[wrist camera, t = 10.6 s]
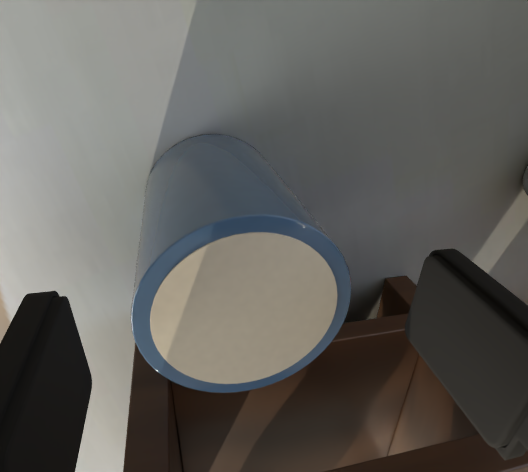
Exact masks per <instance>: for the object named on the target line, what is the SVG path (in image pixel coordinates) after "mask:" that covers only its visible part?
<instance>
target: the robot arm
mask: <svg viewBox="0 0 528 472" xmlns="http://www.w3.org/2000/svg"><path fill="white" fill-rule="evenodd" d="M405 334H406V337H407V339H408V340H409V341H410V343H411V344H412V345H413V347H414V348H415V349H416V351H417V352H418V353H419V355H420V356H421V357H422V359H423V360H424V361H425V363H426V364H427V365H428V367H429V368H430V369H431V370H432V372H433V373H434V374H435V376H436V377H437V378H438V380H439V381H440V382H441V384H442V385H443V386H444V388H445V389H446V390H447V392H448V393H449V394H450V396H451V397H452V398H453V399H454V401H455V402H456V403H457V405H458V406H459V407H460V409H461V410H462V411H463V413H464V414H465V415H466V417H467V418H468V419H469V421H470V422H471V423H472V425H473V426H474V427H475V429H476V430H477V431H478V432H479V434H480V435H481V436H482V438H483V439H484V440H485V442H486V443H487V444H488V445H490V446H491V447H493V448H495V449H496V450H497V452H498V453H499V454H500V455H501V457H502V458H503V459H504V461H505V460H509V459H513V458H516V457H520V456H523V455H524V454H525V452H526V451H528V305H526V304H525V303H524V302H522V301H521V300H520V299H519V298H517V297H516V296H515V295H514V294H512V293H511V292H510V291H508V290H507V289H506V288H505V287H503V286H502V285H501V284H500V283H498V282H497V281H496V280H495V279H493V278H492V277H491V276H489V275H488V274H487V273H486V272H484V271H483V270H482V269H481V268H479V267H478V266H477V265H476V264H474V263H473V262H472V261H470V260H469V259H468V258H467V257H465V256H464V255H463V254H462V253H460V252H459V251H458V250H456V249H443V250H435V251H432V252H431V253H430V255H429V256H428V257H427V258H426V259H425V261H424V264H423V268H422V271H421V274H420V278H419V281H418V284H417V287H416V291H415V294H414V297H413V301H412V304H411V307H410V310H409V314H408V317H407V320H406V324H405ZM91 388H92V378H91V373H90V370H89V366H88V363H87V360H86V356H85V353H84V350H83V346H82V343H81V340H80V337H79V333H78V330H77V327H76V323H75V320H74V317H73V313H72V310H71V307H70V304H69V300H68V298H67V297H66V296H62V297H59V294H58V293H57V292H56V291H50V292H40V293H31V294H27V295H26V296H25V297H24V298H23V300H22V302H21V304H20V306H19V308H18V310H17V312H16V314H15V316H14V318H13V320H12V322H11V324H10V326H9V328H8V330H7V332H6V334H5V336H4V338H3V340H2V341H1V343H0V472H75V468H76V463H77V458H78V453H79V448H80V443H81V439H82V434H83V429H84V424H85V419H86V414H87V409H88V404H89V399H90V394H91Z"/></svg>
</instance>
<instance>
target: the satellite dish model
mask: <svg viewBox="0 0 528 472" xmlns="http://www.w3.org/2000/svg"><path fill="white" fill-rule="evenodd" d="M523 187H524V190H525V192H526V194H527V195H528V166H527V168H526V170H525V172H524V176H523Z"/></svg>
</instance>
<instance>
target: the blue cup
mask: <svg viewBox="0 0 528 472" xmlns="http://www.w3.org/2000/svg"><path fill="white" fill-rule="evenodd" d="M350 299H351V278H350V273H349V269H348V266H347V264H346V261H345V259H344V257H343V255H342V254H341V252H340V250H339V249H338V247H337V246H336V245H335V244H334V243H333V241H332V240H331V239H330V238H329V236H328V235H327V234H326V233H325V232H324V230H323V229H322V228H321V227H320V225H319V224H318V223H317V222H316V221H315V219H314V218H313V217H312V216H311V214H310V213H309V212H308V211H307V210H306V208H305V207H304V206H303V205H302V203H301V202H300V201H299V200H298V199H297V197H296V196H295V195H294V194H293V192H292V191H291V190H290V189H289V188H288V186H287V185H286V184H285V183H284V181H283V180H282V179H281V178H280V177H279V175H278V174H277V173H276V172H275V170H274V169H273V168H272V167H271V166H270V164H269V163H268V162H267V161H266V159H265V158H264V157H263V156H262V155H261V154H260V153H259V152H258V151H257V150H256V149H255V148H254V147H252V146H251V145H249V144H247V143H246V142H244V141H242V140H239V139H237V138H234V137H231V136H226V135H220V134H207V135H200V136H195V137H192V138H189V139H186V140H184V141H182V142H180V143H178V144H176V145H175V146H173V147H172V148H170V149H169V150H168V151H167V152H166V153H165V154H163V155H162V156H161V158H160V159H159V160H158V161H157V163H156V164H155V166H154V167H153V169H152V171H151V173H150V176H149V178H148V181H147V186H146V191H145V200H144V208H143V217H142V225H141V233H140V242H139V250H138V258H137V267H136V275H135V283H134V292H133V300H132V310H131V325H132V332H133V336H134V339H135V342H136V344H137V347H138V349H139V351H140V353H141V354H142V355H143V357H144V358H145V360H146V361H147V362H148V363H149V364H150V365H151V366H152V367H153V368H154V369H155V370H156V371H157V372H158V373H160V374H161V375H162V376H164V377H165V378H167V379H169V380H171V381H173V382H174V383H177V384H179V385H182V386H184V387H187V388H191V389H195V390H199V391H205V392H216V393H230V392H241V391H248V390H252V389H257V388H261V387H264V386H267V385H270V384H273V383H276V382H278V381H280V380H283V379H285V378H287V377H289V376H291V375H293V374H294V373H296V372H298V371H299V370H301V369H302V368H304V367H305V366H307V365H308V364H309V363H311V362H312V361H313V360H314V359H316V358H317V357H318V356H319V355H320V354H321V353H322V352H323V351H324V350H325V349H326V348H327V347H328V345H329V344H330V343H331V342H332V341H333V339H334V338H335V336H336V335H337V333H338V332H339V330H340V328H341V326H342V324H343V323H344V320H345V318H346V315H347V313H348V309H349V305H350Z"/></svg>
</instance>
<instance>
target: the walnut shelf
mask: <svg viewBox="0 0 528 472" xmlns="http://www.w3.org/2000/svg"><path fill="white" fill-rule="evenodd" d="M416 287H417V286H416V285H415V284H414V283H413V282H412V281H411V280H410V279H409V278H408V277H407V276H401V277H393V278H386V279H385V282H384V287H383V291H382V296H381V300H380V305H379V309H378V314H377V318H374V319H368V320H361V321H355V322H348V323H343V324H342V326H341V328H340V330H339V332H338V333H337V335H336V336H335V338H334V339H333V341H332V342H331V343H330V344H329V345H328V347H327V348H326V349H325V350H324V351H323V352H322V353H321V354H320V355H319V356H318V357H317V358H316V359H314V360H313V361H312V362H311V363H309V364H308V365H307V366H305V367H304V368H302V369H301V370H299V371H298V372H296V373H294V374H293V375H291V376H289V377H287V378H285V379H283V380H280V381H278V382H276V383H273V384H270V385H267V386H264V387H261V388H257V389H252V390H248V391H241V392H230V393H216V392H205V391H199V390H195V389H191V388H187V387H184V386H182V385H179V384H177V383H174V382H173V381H171V380H169V379H167V378H165V377H164V376H162V375H161V374H160V373H158V372H157V371H156V370H155V369H154V368H153V367H152V366H151V365H150V364H149V363H148V362H147V361H146V360H145V358H144V357H143V355H142V354H141V353H140V351H139V349H138V347H137V344H136V342H135V352H134V362H133V373H132V384H131V394H130V405H129V416H128V426H127V437H126V448H125V458H124V469H123V472H528V451H526V452H525V454H524V455H523V456H520V457H516V458H513V459H509V460H505V461H504V459H503V458H502V457H501V455H500V454H499V453H498V452H497V450H496V449H495V448H493V447H491V446H490V445H488V444H487V443H486V442H485V440H484V439H483V438H482V436H481V435H480V434H479V432H478V431H477V430H476V429H475V427H474V426H473V425H472V423H471V422H470V421H469V419H468V418H467V417H466V415H465V414H464V413H463V411H462V410H461V409H460V407H459V406H458V405H457V403H456V402H455V401H454V399H453V398H452V397H451V396H450V394H449V393H448V392H447V390H446V389H445V388H444V386H443V385H442V384H441V382H440V381H439V380H438V378H437V377H436V376H435V374H434V373H433V372H432V370H431V369H430V368H429V367H428V365H427V364H426V363H425V361H424V360H423V359H422V357H421V356H420V355H419V353H418V352H417V351H416V349H415V348H414V347H413V345H412V344H411V343H410V341H409V340H408V339H407V337H406V334H405V324H406V320H407V317H408V314H409V310H410V307H411V304H412V301H413V297H414V294H415V291H416Z"/></svg>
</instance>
